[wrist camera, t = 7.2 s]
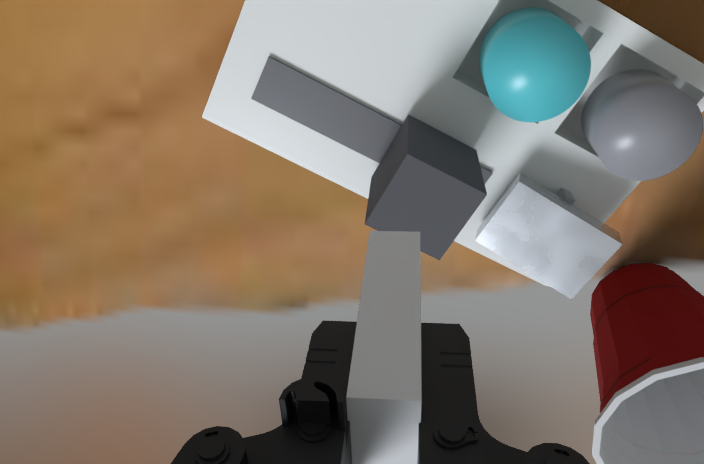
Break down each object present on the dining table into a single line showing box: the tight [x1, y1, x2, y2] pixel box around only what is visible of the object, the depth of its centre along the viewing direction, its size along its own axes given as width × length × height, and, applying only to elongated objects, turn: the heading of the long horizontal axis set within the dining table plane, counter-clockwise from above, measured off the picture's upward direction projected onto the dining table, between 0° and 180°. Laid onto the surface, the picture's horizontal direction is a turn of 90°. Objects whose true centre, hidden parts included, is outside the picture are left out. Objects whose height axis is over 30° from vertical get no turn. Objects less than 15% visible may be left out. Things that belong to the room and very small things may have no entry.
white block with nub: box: [475, 173, 622, 299], centre depth 30 cm, size 6×4×1 cm, turn 63°
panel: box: [202, 0, 704, 286], centre depth 29 cm, size 22×14×4 cm, turn 63°
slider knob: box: [365, 114, 487, 260], centre depth 28 cm, size 4×4×5 cm
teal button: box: [479, 7, 591, 122], centre depth 26 cm, size 4×4×3 cm
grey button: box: [581, 69, 703, 181], centre depth 27 cm, size 4×4×3 cm
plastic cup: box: [590, 263, 704, 464], centre depth 32 cm, size 11×11×12 cm
